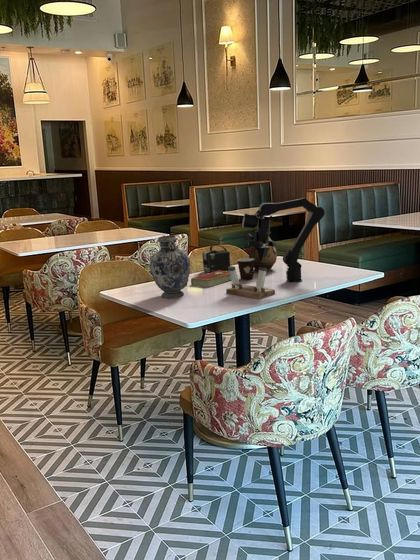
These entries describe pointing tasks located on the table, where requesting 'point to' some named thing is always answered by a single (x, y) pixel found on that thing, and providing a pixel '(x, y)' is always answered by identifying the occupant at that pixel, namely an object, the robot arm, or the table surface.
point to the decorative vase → (170, 267)
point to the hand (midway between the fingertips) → (260, 261)
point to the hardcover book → (211, 278)
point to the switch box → (250, 291)
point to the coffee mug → (247, 268)
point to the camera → (216, 260)
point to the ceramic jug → (268, 259)
